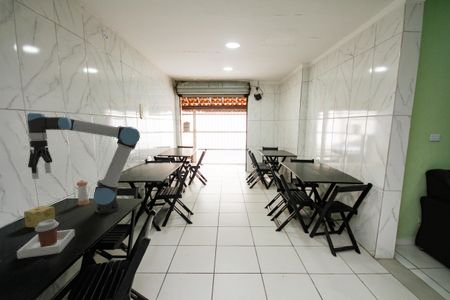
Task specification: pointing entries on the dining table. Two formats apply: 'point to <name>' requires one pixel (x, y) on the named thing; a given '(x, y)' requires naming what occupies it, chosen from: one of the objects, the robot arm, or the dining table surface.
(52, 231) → the coffee cup
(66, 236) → the white square tray
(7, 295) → the dining table surface
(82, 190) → the salt shaker
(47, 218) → the cheese
